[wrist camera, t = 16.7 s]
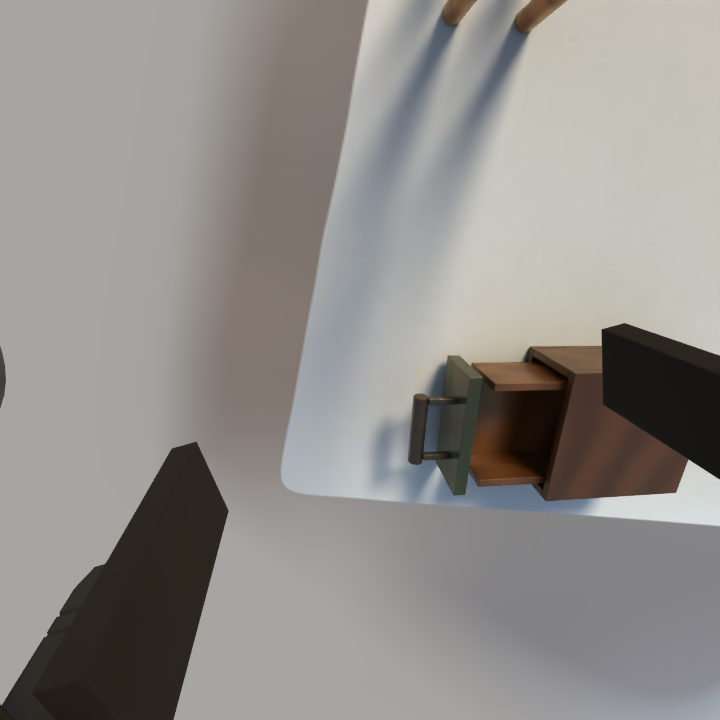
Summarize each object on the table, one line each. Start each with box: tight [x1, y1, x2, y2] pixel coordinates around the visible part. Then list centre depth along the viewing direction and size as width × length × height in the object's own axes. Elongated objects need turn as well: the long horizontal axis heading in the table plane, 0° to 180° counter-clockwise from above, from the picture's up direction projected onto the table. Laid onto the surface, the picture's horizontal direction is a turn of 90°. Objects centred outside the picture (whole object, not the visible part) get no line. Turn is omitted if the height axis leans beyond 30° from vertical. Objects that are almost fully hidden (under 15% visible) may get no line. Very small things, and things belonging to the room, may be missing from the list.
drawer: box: [408, 356, 569, 495], centre depth 40 cm, size 18×12×6 cm
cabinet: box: [527, 346, 688, 501], centre depth 41 cm, size 15×14×8 cm
